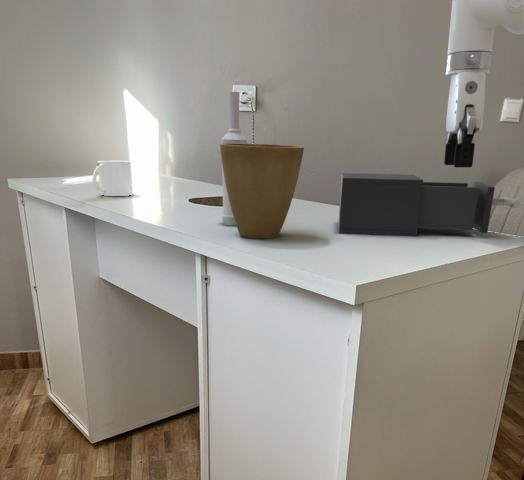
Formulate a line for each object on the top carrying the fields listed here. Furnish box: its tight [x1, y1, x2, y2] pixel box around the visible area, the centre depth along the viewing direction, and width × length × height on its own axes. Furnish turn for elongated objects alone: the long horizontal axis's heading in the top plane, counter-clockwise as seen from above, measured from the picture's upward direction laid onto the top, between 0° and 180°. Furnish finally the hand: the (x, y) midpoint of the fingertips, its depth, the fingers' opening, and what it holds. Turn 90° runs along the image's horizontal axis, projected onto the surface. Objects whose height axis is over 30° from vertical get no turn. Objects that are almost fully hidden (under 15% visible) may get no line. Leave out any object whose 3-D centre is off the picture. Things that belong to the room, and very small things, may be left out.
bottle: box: [220, 91, 248, 227], centre depth 111 cm, size 5×5×25 cm
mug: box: [91, 159, 134, 197], centre depth 158 cm, size 12×9×9 cm
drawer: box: [418, 181, 521, 234], centre depth 109 cm, size 19×12×8 cm, turn 83°
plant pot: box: [219, 142, 305, 239], centre depth 101 cm, size 15×15×16 cm
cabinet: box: [337, 172, 424, 237], centre depth 111 cm, size 15×13×10 cm
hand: (457, 166), depth 106 cm, fingers open, 9 cm apart
